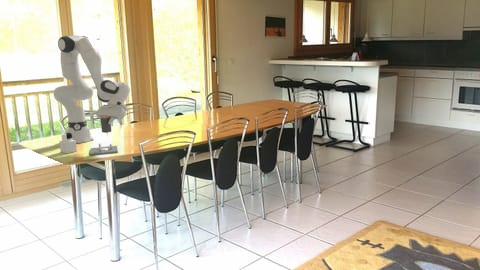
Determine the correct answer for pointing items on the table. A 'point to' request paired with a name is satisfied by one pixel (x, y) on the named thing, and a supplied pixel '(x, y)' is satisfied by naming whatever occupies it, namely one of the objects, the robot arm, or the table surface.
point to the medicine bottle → (67, 143)
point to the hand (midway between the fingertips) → (105, 123)
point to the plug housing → (105, 124)
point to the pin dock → (103, 150)
